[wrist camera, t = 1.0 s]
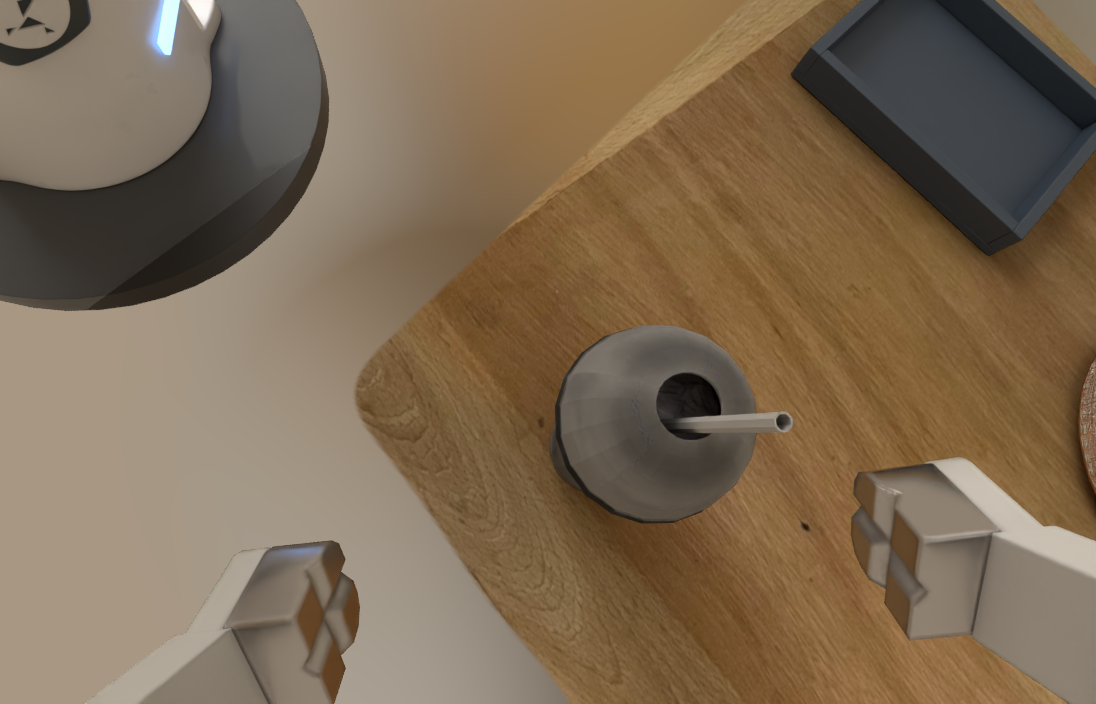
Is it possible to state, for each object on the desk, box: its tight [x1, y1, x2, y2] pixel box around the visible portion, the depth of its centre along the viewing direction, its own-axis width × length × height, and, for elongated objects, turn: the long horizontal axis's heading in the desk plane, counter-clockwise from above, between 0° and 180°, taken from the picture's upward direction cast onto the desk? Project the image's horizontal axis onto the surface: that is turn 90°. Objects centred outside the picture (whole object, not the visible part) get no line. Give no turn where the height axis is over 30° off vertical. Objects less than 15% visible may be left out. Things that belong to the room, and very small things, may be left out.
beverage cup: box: [550, 325, 793, 523], centre depth 24 cm, size 7×7×20 cm
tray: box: [791, 0, 1096, 256], centre depth 41 cm, size 18×14×3 cm
